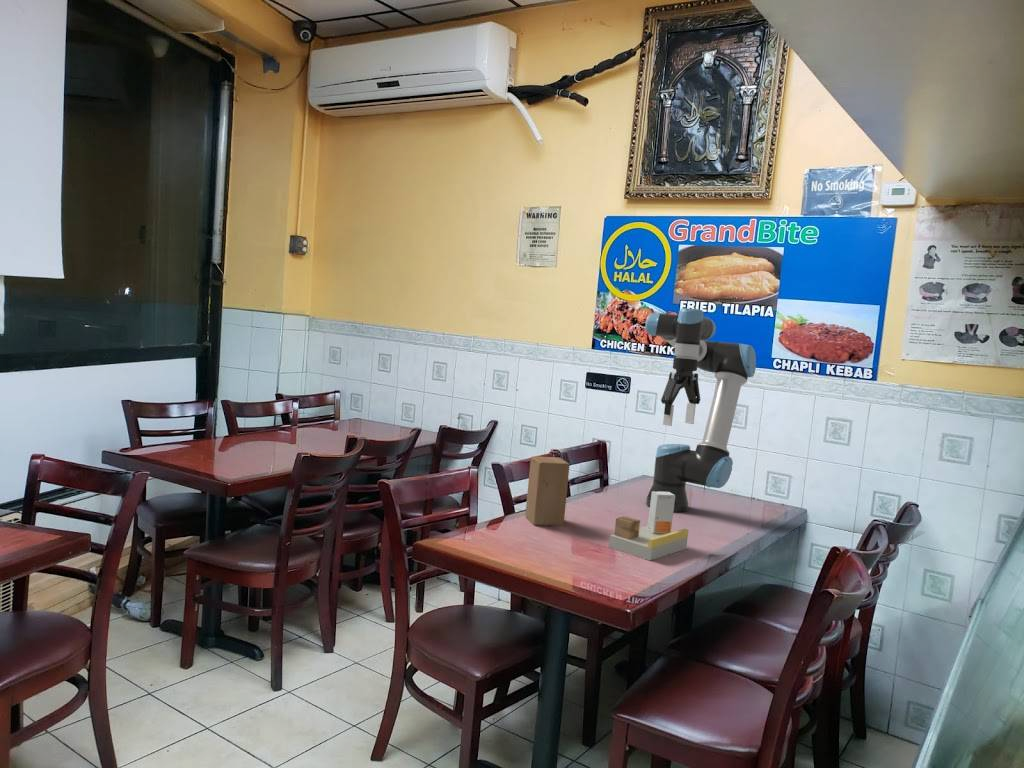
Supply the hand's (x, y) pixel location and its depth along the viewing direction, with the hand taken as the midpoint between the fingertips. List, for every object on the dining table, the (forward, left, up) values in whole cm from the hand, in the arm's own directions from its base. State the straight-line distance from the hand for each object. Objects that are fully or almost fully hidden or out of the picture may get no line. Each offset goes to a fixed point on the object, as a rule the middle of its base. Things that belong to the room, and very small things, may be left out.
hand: (678, 424), depth 240 cm
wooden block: (+28, -28, -35) cm, 53 cm away
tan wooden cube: (+28, +3, -31) cm, 42 cm away
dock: (+22, +7, -35) cm, 42 cm away
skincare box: (+15, +6, -31) cm, 35 cm away
